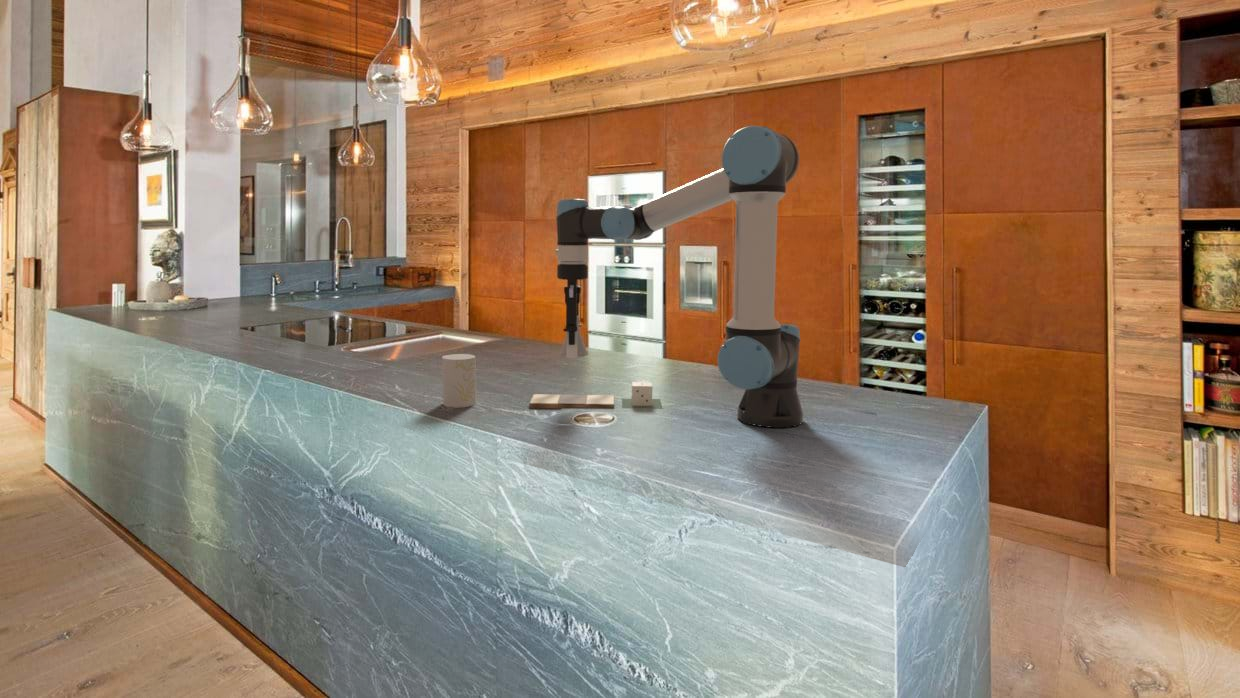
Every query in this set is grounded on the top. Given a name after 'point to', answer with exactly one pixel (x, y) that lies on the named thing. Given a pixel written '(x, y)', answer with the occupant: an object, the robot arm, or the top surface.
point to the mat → (628, 404)
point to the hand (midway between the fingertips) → (572, 354)
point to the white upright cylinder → (459, 380)
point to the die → (641, 394)
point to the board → (571, 401)
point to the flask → (581, 345)
